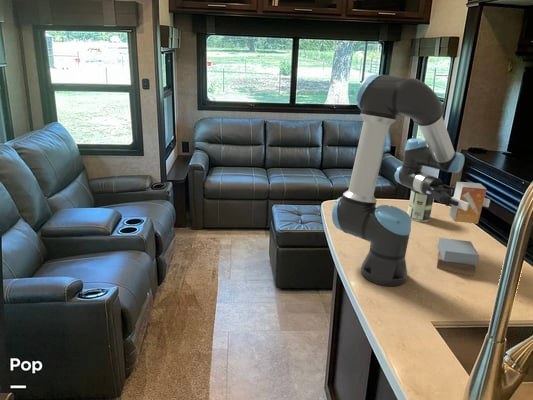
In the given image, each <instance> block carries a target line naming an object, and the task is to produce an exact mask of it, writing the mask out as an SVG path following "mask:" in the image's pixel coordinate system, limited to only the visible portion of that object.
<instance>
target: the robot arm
mask: <svg viewBox="0 0 533 400" xmlns="http://www.w3.org/2000/svg"><path fill="white" fill-rule="evenodd" d="M355 100H356V106H357V107H358V109H360V114H359V115H360V117H361V118H362V121H363V122H362V127H361V131H360V136H359V141H358V145H357V149H356V153H355V158H354V163H353V168H352V173H351V177H350V181H349V186H348V190H346V191H344V192H343V193H342V196H340V197H338V198H337V199H336V201H335V203H334V204H333V207H332V209H331V220H332V223H333V225H334V227H335V228H336V229H338V230H339V231H341V232H343V233H345V234H348V235H351V236H353V237H356V238H359V239H362V240H365V241H367V242H369V244H370V245H369V250H368V253H367V254H366V256H365V258H364V259H363V262H362V264H361V266H360V267H361V268H360V272H361V275H362V277H364V279H366V280H367V281H369V282H370V283H373V284H376V285H379V286H384V287H399V286H402V285H404V284H405V283H406V282H407V278H408V268H407V261H406V254H407V248H408V245H409V244H408V243H409V239H410V234H411V229H412V228H411V227H412V226H411V225H412V220H411V218H410V216H409V215H408V214H407V212H406V211H405V210H403V209H401V208H400V207H397V206H394V205H388V204H382V205H381V204H380V205H378V206H377V207H376V205H377V198H376V197H375V195H374V194H375V190H376V186H377V181H378V176H379V172H380V169H381V163H382V160H383V155H384V151H385V148H386V143H387V138H388V135H389V129H390V126H391V125H392V124H393V123H395V122H396V120H397V117H398V116H403V117H407V118H410V119H412V121H413V123H414V124H415V125H417V126H418V127H419V129H420V130H421V134H422V136H423V138H424V139H421V138H409V139H407V140H406V144H405V149H404V154H403V160H402V165H400V166H398V167H397V168H396V171H395V173H394V180H395V181H396V182H397V183H399V184H400V185H402V186H404V187H407V188H408V189H410V190H411V189H414V190H416V191H418V192H420V194H422V193H423V194H425V195H427V196H429V197H432V198H433V200H435V201H436V202H438V203H439V204H441V205H444V204H445V206H446V207H449V206H450V205H453V206H455V207H458V208H460V209H462V210H465V211H467V210H468V205H469V203H467V202H465V201H462V200H460V199H457V198H455V197H454V192H455V188H456V185H454V184H452V185H451V186H449V185H447V184H444V183H443V181H442V179H440V178H438V177H436V176H433V175H431V174H428V173H425V172H423V171H422V169H423V166H424V167H428V168H431V169H435V170H439V171H445V172H447V173H454V174H457V173H460V172H461V170H462V168H463V167H464V165H465V155H464V154H463V153H461V152H458V151H455V149H454V146H453V143H452V141H451V140H452V139H451V137H450V135H449V131H448V129H447V127H446V122H445V121H444V117H443V116H444V106H443V103H442V101H441V99H440V98H439V96H438V94H436V92H435V91H434V90H433V89H432V88H431V87H430V86H429V85H428V84H426V83H425V82H424V81H421V80H420V79H417V78H414V77H404V76H397V75H396V76H395V75H387V74H371V75H369V76H367V77H366V78H365V79H363V81H362V82H361V83H360V85H359V87H358V90H357V93H356V99H355ZM490 203H491V199H489V198H486V197H485V198H484V202H483V205H482V207H484V208H485V207H486V208H489V207H490Z"/></svg>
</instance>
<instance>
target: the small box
mask: <svg viewBox="0 0 533 400" xmlns="http://www.w3.org/2000/svg"><path fill="white" fill-rule="evenodd" d="M455 186H456V188H455V192H454V196H453V197H455V198H457V199H460V200H462V201H465V202H467V203H469V205H468V210H467V211H465V210H462V209H460V208H458V207H455V206H453V205H451V204H450V205H451V207H450V212H449V217H450V218H451V219H452V220H453V222H456V223H465V224H476V225H477V224H478V225H479V220H480V217H481V213H482V209H483V206H482V205H483V202H484V198H486V194H487V190H488V189H487V188H486V186H485V185H483V184H482V183H479V182H469V181H465V182H464V181H456V183H455Z"/></svg>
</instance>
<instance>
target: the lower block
mask: <svg viewBox="0 0 533 400" xmlns="http://www.w3.org/2000/svg"><path fill="white" fill-rule="evenodd" d="M436 259H437V262H436V269H440V270H444V271H449V272H453V273H456V274H457V273H458V274H461V275H465V276H466V275H467V276H471V277H474V276H475V273H476V272H475V271H476V268H477V267H476V266H477V265H470V264H462V263H455V262H447V261H443V259H442V257H441V254H440V252H439V251H438V253H437V258H436Z"/></svg>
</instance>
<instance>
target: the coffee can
mask: <svg viewBox="0 0 533 400" xmlns="http://www.w3.org/2000/svg"><path fill="white" fill-rule="evenodd" d="M433 203H434V199H433V198H432V197H429V196H427V195H425V194H423V193H422V194H420V192H418V191H416V190H414V189H411V188H410V197H409V201H408V208H407V212H406V213H407V214H408V215H409V216H410V218H411V221H415V222H420V223H427V222H429V221H430V220H431V219H430V218H431V213H432V209H433Z"/></svg>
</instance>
